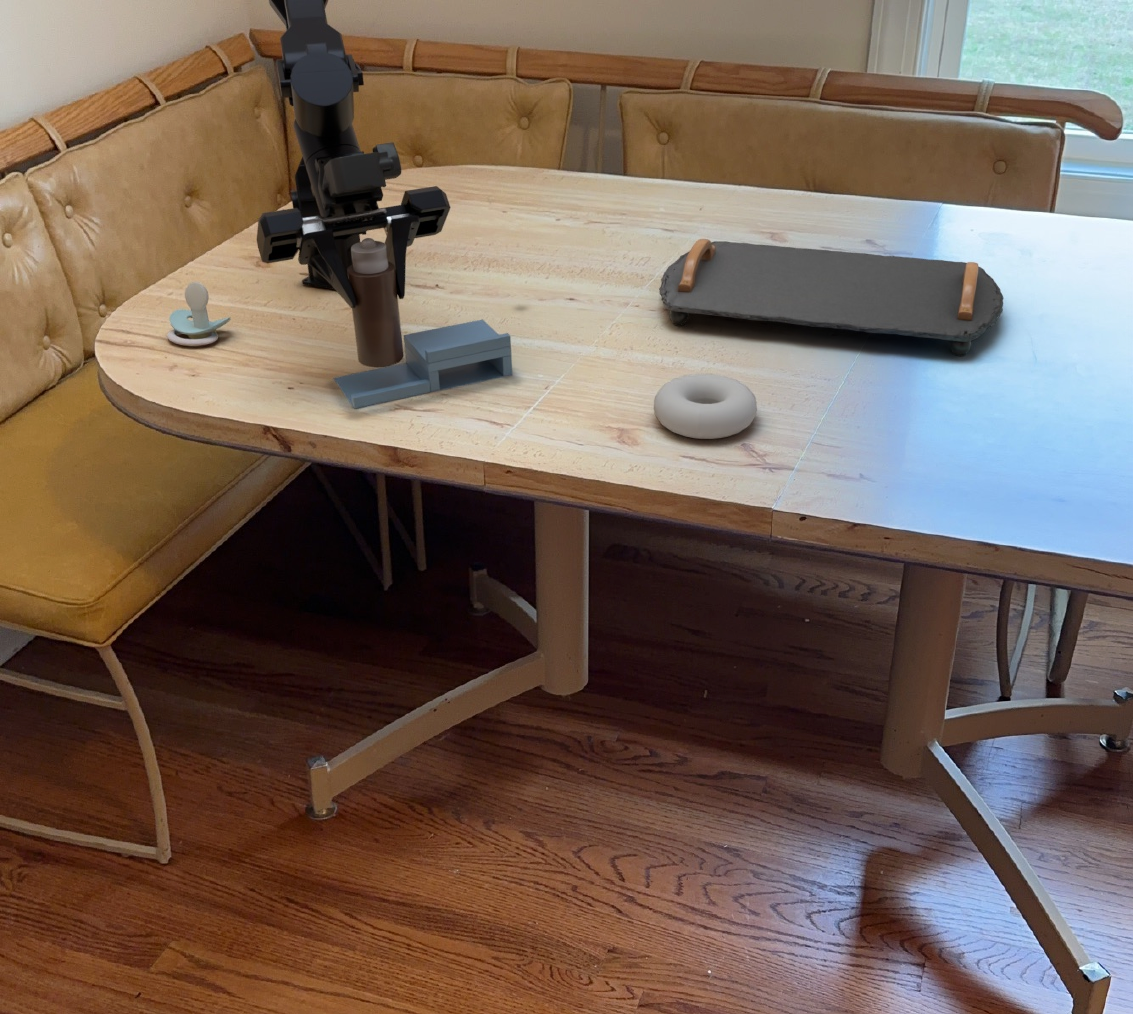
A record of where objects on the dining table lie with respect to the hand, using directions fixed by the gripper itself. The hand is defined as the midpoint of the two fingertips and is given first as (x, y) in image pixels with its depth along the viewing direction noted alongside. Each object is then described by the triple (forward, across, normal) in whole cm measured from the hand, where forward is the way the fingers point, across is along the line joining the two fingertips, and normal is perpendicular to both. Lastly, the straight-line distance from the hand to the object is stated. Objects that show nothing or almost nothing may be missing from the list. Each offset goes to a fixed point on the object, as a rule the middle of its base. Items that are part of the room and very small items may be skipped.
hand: (378, 301), depth 118 cm
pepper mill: (+4, 0, +6) cm, 7 cm away
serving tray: (+8, +53, +6) cm, 54 cm away
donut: (+21, +26, -6) cm, 34 cm away
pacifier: (-10, -15, +25) cm, 31 cm away
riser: (+6, +4, +8) cm, 11 cm away
